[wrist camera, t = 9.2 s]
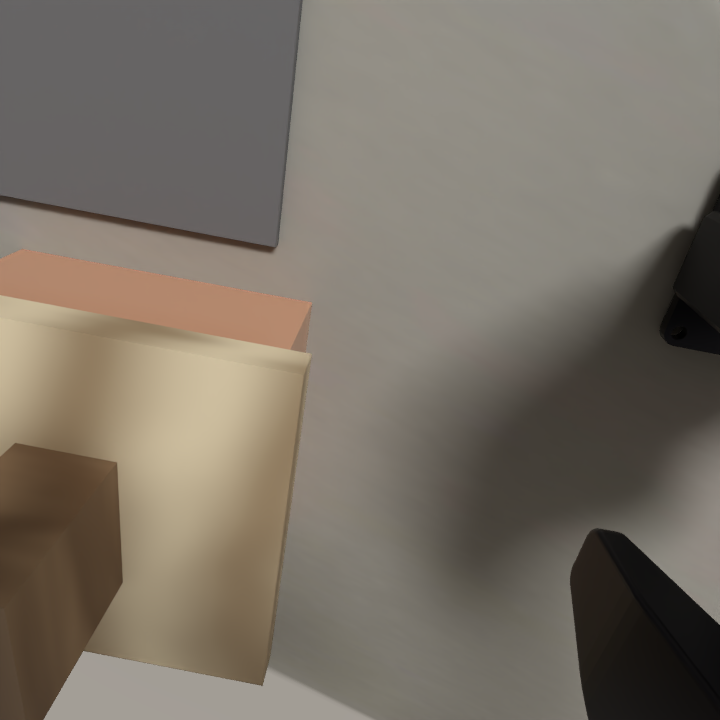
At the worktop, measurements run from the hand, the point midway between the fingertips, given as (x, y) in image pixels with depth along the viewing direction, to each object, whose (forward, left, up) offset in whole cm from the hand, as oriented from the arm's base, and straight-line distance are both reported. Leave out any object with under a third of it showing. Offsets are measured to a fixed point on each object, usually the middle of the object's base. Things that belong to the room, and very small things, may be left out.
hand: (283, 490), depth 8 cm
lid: (+7, +8, -7) cm, 13 cm away
